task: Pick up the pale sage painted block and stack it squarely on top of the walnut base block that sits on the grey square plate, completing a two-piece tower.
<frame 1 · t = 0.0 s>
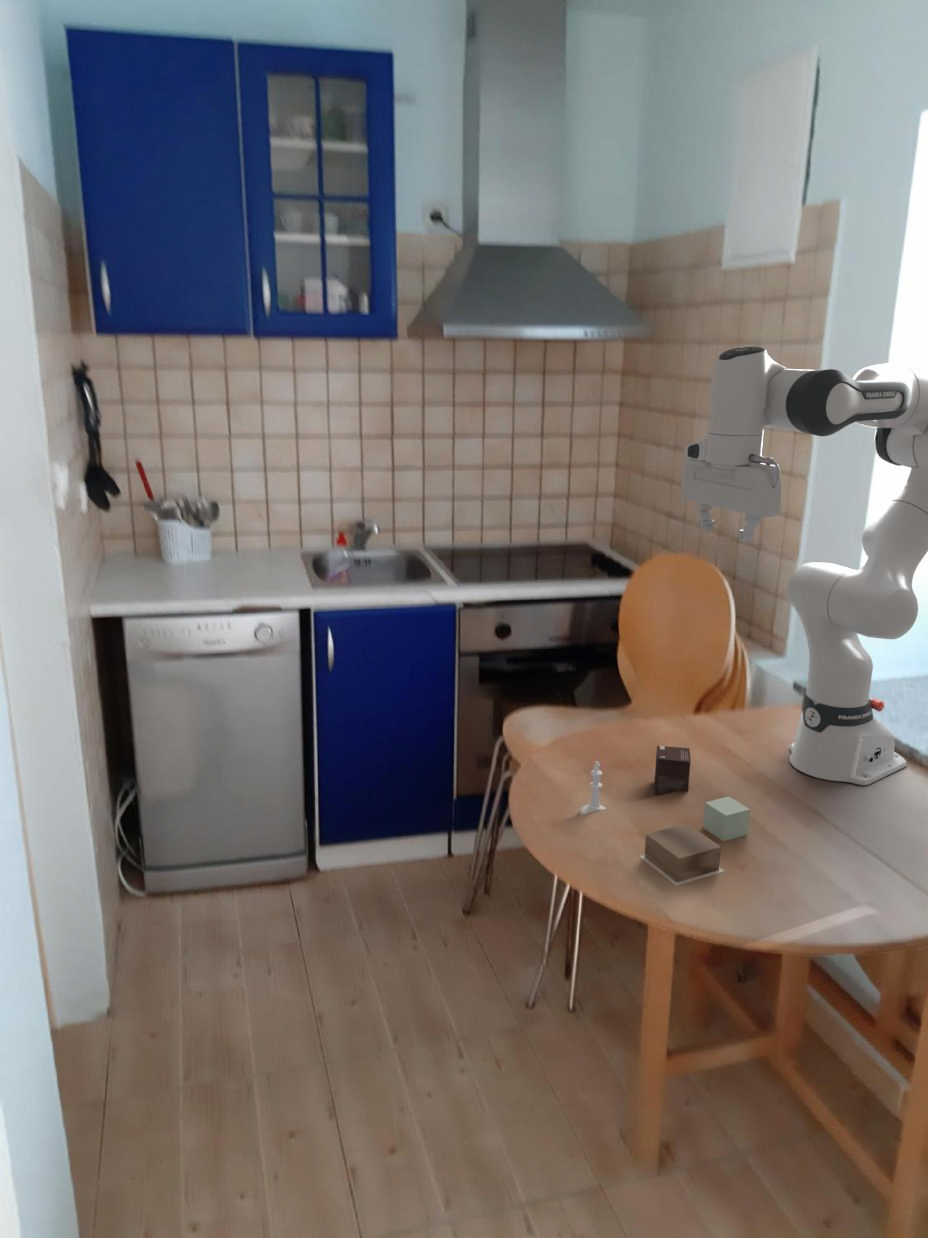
hand: (725, 535, 157), 48 cm above the table, fingers open, 8 cm apart
sage block: (724, 838, 157), on the table
base block: (681, 863, 147), point 1 cm above the table, touching grey square plate
grey square plate: (690, 868, 148), on the table
box: (670, 790, 174), on the table
chess piece: (594, 815, 164), on the table
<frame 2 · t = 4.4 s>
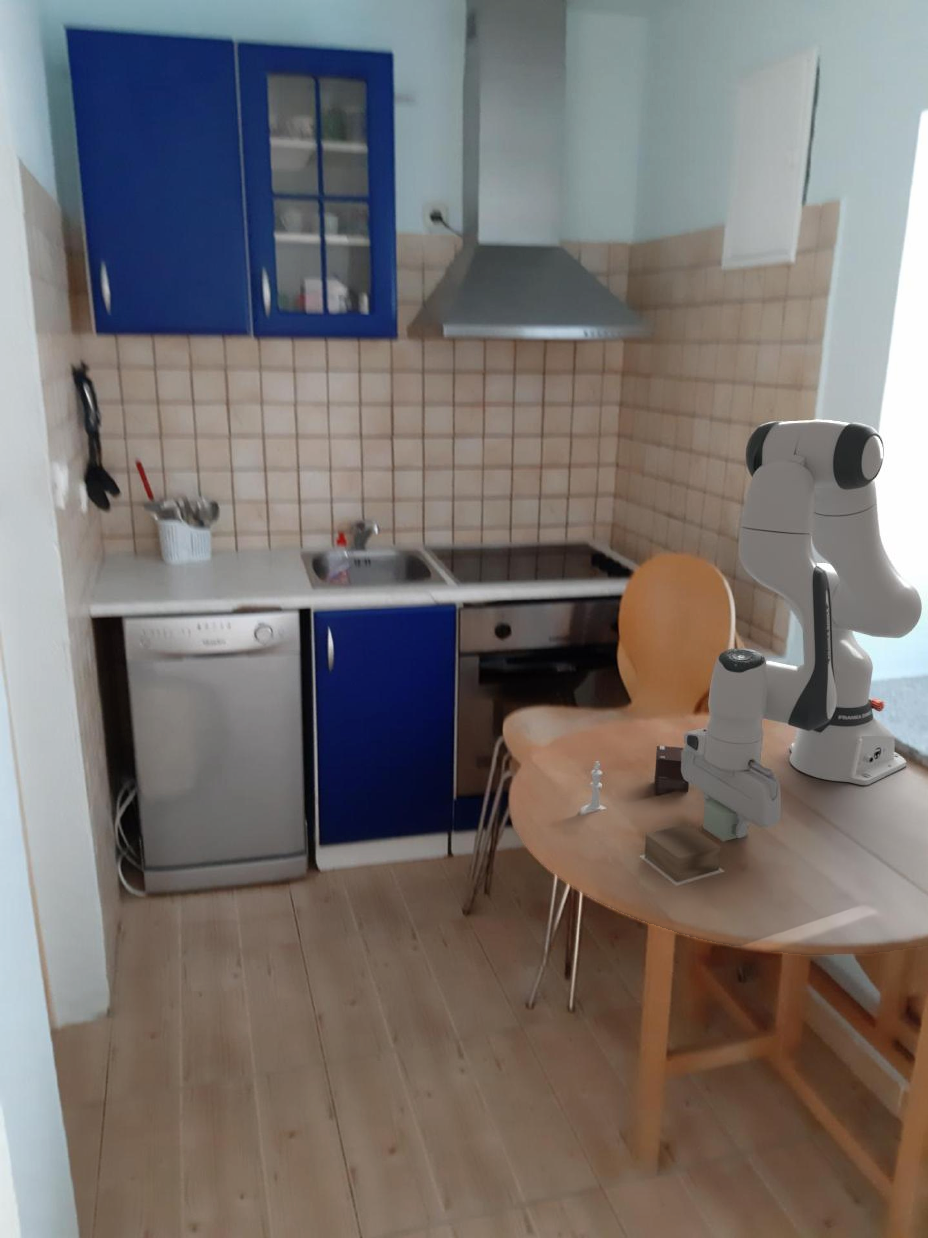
hand: (725, 826, 156), 2 cm above the table, fingers closed on sage block, 5 cm apart
sage block: (724, 838, 157), on the table, touching gripper
everything else where it was.
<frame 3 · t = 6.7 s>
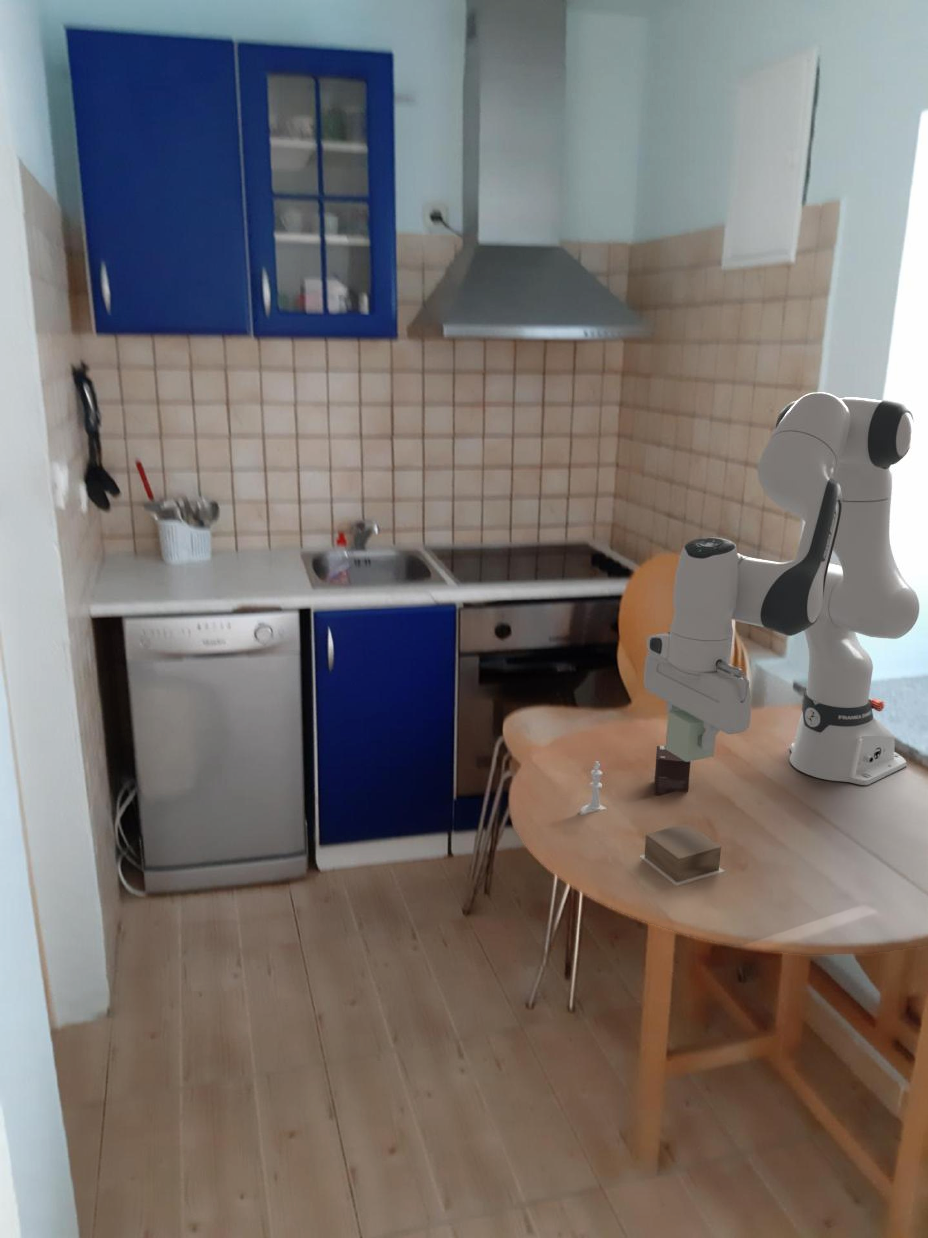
hand: (690, 739, 141), 22 cm above the table, fingers closed on sage block, 5 cm apart
sage block: (689, 752, 141), point 20 cm above the table, touching gripper
everything else where it was.
when the fingers open (9 cm above the table, at t = 9.0 s): sage block drops 1 cm, resting on base block.
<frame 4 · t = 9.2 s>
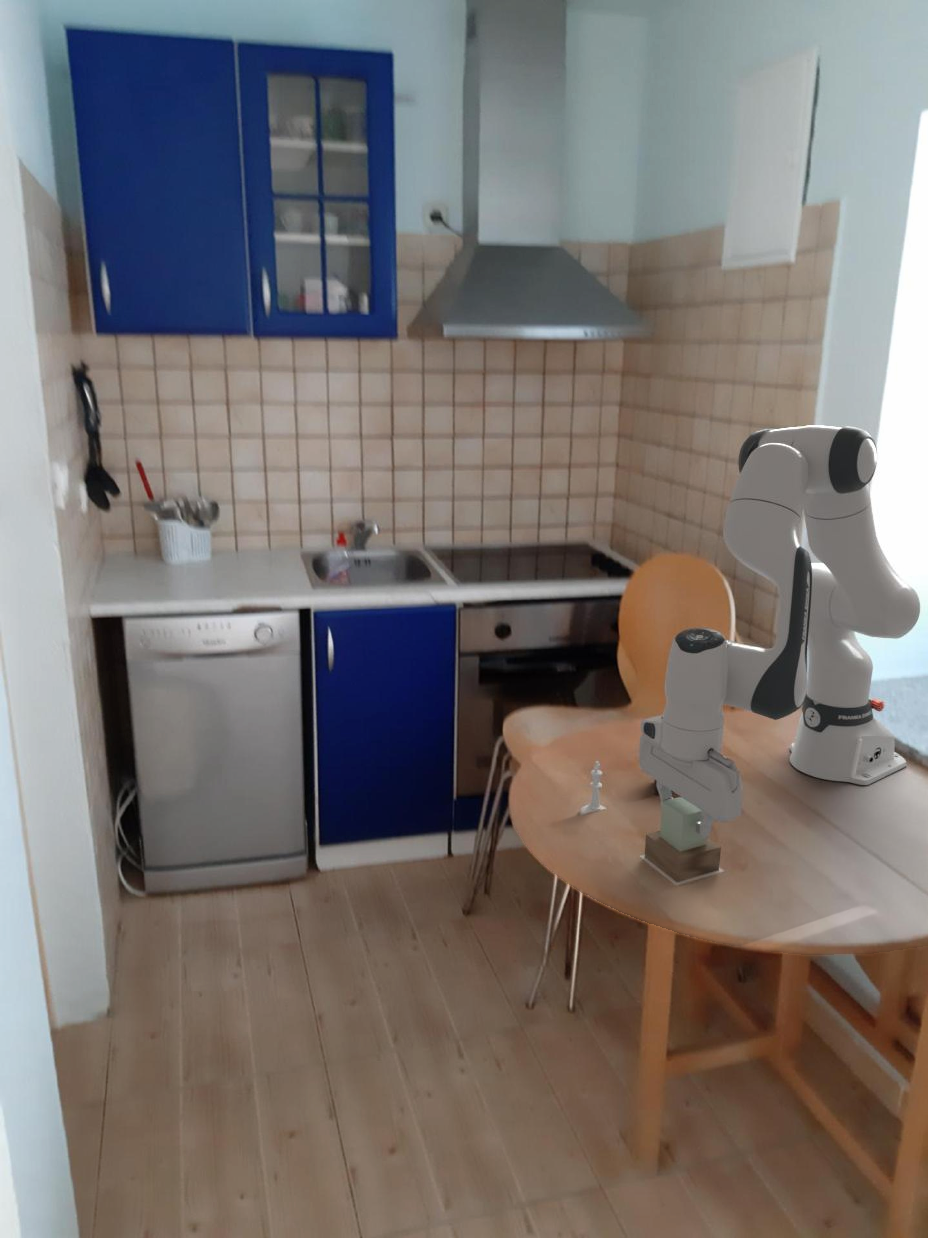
hand: (684, 821, 145), 9 cm above the table, fingers open, 7 cm apart
sage block: (683, 840, 146), point 5 cm above the table, touching base block
base block: (681, 863, 147), point 1 cm above the table, touching grey square plate, sage block
everything else where it was.
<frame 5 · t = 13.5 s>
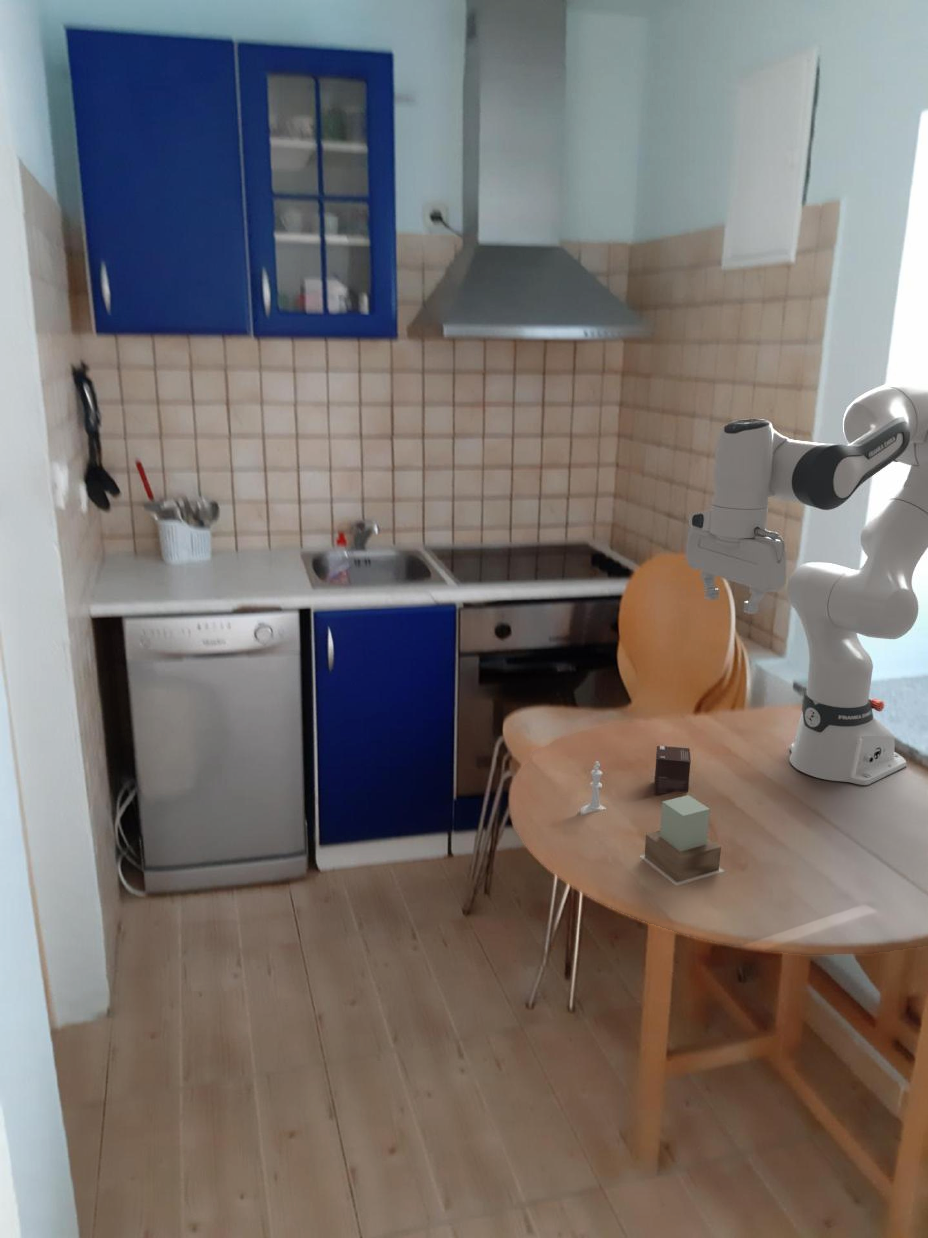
hand: (730, 605, 156), 37 cm above the table, fingers open, 8 cm apart
nothing on the table moved.
at the end: sage block 0.0 cm off-centre on the base block, point 4.0 cm above the base block's base; sage block tilted 0°; the gripper is holding nothing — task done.
